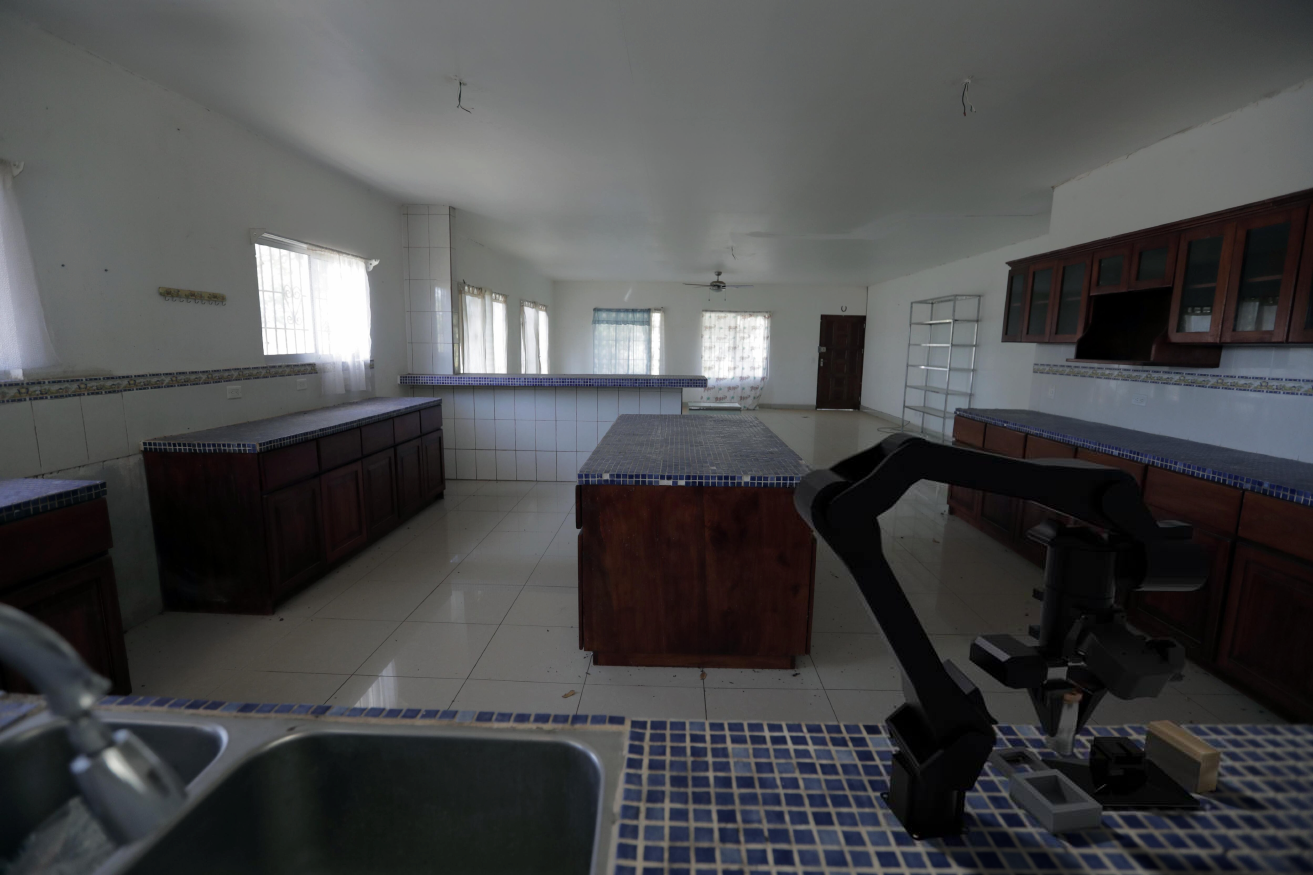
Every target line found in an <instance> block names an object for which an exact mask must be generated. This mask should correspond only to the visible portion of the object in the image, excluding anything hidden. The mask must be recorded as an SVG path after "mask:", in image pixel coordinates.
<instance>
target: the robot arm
mask: <svg viewBox="0 0 1313 875" xmlns="http://www.w3.org/2000/svg"><path fill="white" fill-rule="evenodd" d="M921 480H926V481H930V482H935V483H940V484H945V485H949V486H955V487H960V488H965V489H969V490H970V489H971V490H975V491H980V492H985V493H990V494H995V495H999V496H1000V495H1001V496H1004V497H1010V498H1015V499H1019V500H1020V499H1021V500H1025V501H1028V502H1031V503H1034V504H1036V505H1039V506H1041V507H1044V508H1045V509H1049V510H1051V511H1053V512H1056V513H1058V514H1059V513H1060V514H1062V515H1063V516H1068V517H1070V518H1072V519H1075V520H1078V521H1080V522H1083V523H1086V524H1089V525H1092V526H1094V527H1097V528H1099V529H1103V530H1107V533H1100V532H1099V531H1098V530H1096V529H1095V528H1093V527H1091V526H1087V525H1066V523H1065V522H1063V521H1060V520H1058V519H1055V518H1053V517H1051V516H1048V517H1046V518H1045V519H1044V520H1043V521H1042V522H1041V523H1039V524H1037V525H1035V526H1033V527H1032V528H1030V529H1028V530H1027V532H1026V537H1028V538H1029V539H1031V540H1035V541H1036V542H1038V543H1040V544H1042V545H1044V546H1047V551H1046V561H1045V569H1044V580H1043V587H1042V586H1041V587H1033V589H1032V597H1031V598H1033V599H1036V600H1037V601H1040V602H1041V605H1040V606H1041V608H1040V615H1039V623H1038V624H1034V625H1033V624H1032V625H1031V624H1030V625H1029V626H1028V633H1027V635H1028V636H1030V637H1032V638H1033V639H1035V640H1037V642H1038V643H1037V644H1038V645H1032V646H1031V645H1026V644H1025V643H1024V642H1022V641H1020V640H1019V639H1016V638H1015V637H1013V636H1012V635H1010V634H1009V633H1002V634H999V633H998V634H987V635H986V634H984V635H977V636H976V637H974V638H972V639H971V641H970V646H969V656H968V661H970V662H971V663H973V664H974V665H976V666H977V667H978V668H980V669H981V670H982V671H984V672H985V673H987V674H988V675H989V676H991V677H992V678H994V680H996V681H998V682H999V683H1000V684H1001V685H1003V686H1004V687H1007V688H1010V689H1013V690H1019V689H1020V690H1022V689H1026V691H1027V692H1028V693H1027V694H1028V696H1029V697H1030V701H1031V703H1032V706H1033V708H1034V710H1035V714H1036V715H1037V718H1038V721H1039V723H1040V725H1041V729H1042V731H1043V732H1044V733H1045V735H1046V734H1047V735H1049V736H1050V737H1055V736H1056V733H1057V729H1058V726H1059V721H1060V716H1061V710H1062V704H1063V699H1064V695H1065V694H1067V693H1069V692H1071V691H1074V690H1076V689H1077V687H1076V686H1074V685H1073V684H1071V683H1070V682H1073V683H1075V684H1077V685H1079V686H1080V687H1081V688H1082V689H1083V698H1082V701H1081V702H1079V710H1078V718H1077V726H1076V735H1075V736H1077V735H1080V733H1081V732H1082V730H1083V729H1084V727H1085V725H1086V724H1087V722H1088V721H1089V719H1090V717H1091V716H1092V715H1093V713H1094V711H1095V710H1096V708H1097V706H1098V705H1099V703H1101V701H1102V700H1103V698H1104V697H1105V696H1106V695H1107V693H1110V694H1111V695H1112V696H1114V697H1116V698H1118V699H1120V700H1122V701H1133V700H1135V699H1141V698H1142V699H1144V698H1150V699H1156V698H1159V696H1160V695H1161V694H1162V692H1163V690H1164V689H1165V688H1166V686H1167V685H1168V684H1170V683H1171V684H1172V683H1181V682H1183V680H1184V676H1183V674H1182V672H1183V670H1184V669H1185V666H1186V648H1185V646H1184V645H1183V644H1181V643H1180V642H1178V641H1177V640H1176V639H1175V638H1174V637H1171V636H1165V637H1154V638H1152V637H1149V636H1148V635H1145V634H1143V633H1141V632H1139V631H1138V630H1135V629H1132V628H1130V627H1129V626H1127V614H1126V613H1125V607H1122V606H1121V605H1118V604H1116V603H1114V601H1115V592H1116V584H1118V585H1119V586H1120V587H1121V588H1124V590H1125V589H1126V590H1130V591H1159V592H1160V591H1163V592H1164V591H1167V592H1168V591H1169V592H1171V591H1173V592H1174V591H1175V592H1186V591H1187V592H1190V591H1195V590H1197V589H1200V588H1201V587H1203V585H1205V583H1206V582H1207V580H1208V578H1209V575H1210V572H1211V570H1210V569H1211V568H1210V567H1211V565H1210V564H1209V563H1208V559H1207V555H1206V553H1205V550H1204V548H1203V546H1201V544H1200V543H1199V542H1198V541H1197V540H1196V539H1195V538H1194V537H1193V536H1194V531H1195V527H1194V526H1193V525H1192V524H1188V523H1186V522H1185V523H1184V522H1182V521H1179V520H1174V519H1172V520H1170V519H1169V520H1165V519H1164V520H1160V521H1156V519H1155V517H1154V516H1153V514H1152V512H1151V511H1150V508H1149V507H1148V506H1147V504H1146V503H1145V501H1144V500H1143V498H1142V496H1141V490H1140V485H1139V483H1138V481H1137V477H1136V476H1135V474H1133V473H1131V472H1129V471H1128V470H1127V471H1126V470H1124V469H1122V468H1118V467H1112V466H1108V465H1104V464H1099V463H1095V462H1090V461H1086V460H1084V459H1082V460H1081V459H1078V458H1067V457H1064V458H1063V457H1060V458H1059V457H1055V458H1054V457H1042V458H1034V459H1033V458H1032V459H1031V458H1016V457H1012V456H1008V455H1007V456H1006V455H1002V454H996V453H993V452H988V451H982V450H977V449H973V448H967V447H962V446H957V445H954V444H953V445H951V444H947V443H943V442H938V441H934V440H928V439H926V438H923V437H920V436H918V435H917V436H916V435H914V434H910V433H906V432H895V433H891V434H890V435H888V436H886V437H885V438H883V439H882V440H880V441H878V442H877V443H875V444H873V445H872V446H870V447H868V448H865V449H863V450H860V451H858V452H856V453H854V454H852V455H849V456H847V457H845V458H843V459H840V460H838V461H837V462H836V463H834V464H832V465H831V466H829V467H828V468H822V469H821V468H820V469H819V468H818V469H815V470H812V471H810V472H808V473H806V474H805V475H804V476H802V478H800V480H799V482H798V483H797V484H796V487H795V490H794V494H793V495H792V496H793V499H792V500H793V504H794V507H795V509H796V511H797V512H798V514H799V516H801V518H802V519H803V520H804V522H805V523H806V524H807V525H808V526H809V527H810V529H811V530H812V531H813V532H814V533H815V535H816V536H817V537H818V538H819V540H820V541H821V542H822V543H823V544H824V545H825V546H826V547H827V549H828V551H830V552H831V553H832V555H833V556H834V557H835V558H836V560H838V562H839V563H840V565H841V567H842V569H843V570H844V573H845V574H846V576H847V578H848V579H849V581H850V583H851V585H852V587H853V589H854V590H855V592H856V594H857V596H858V597H859V599H860V601H861V603H862V605H863V606H864V608H865V611H866V612H867V614H868V616H869V618H870V619H871V621H872V623H873V625H874V627H875V628H876V631H877V633H879V636H880V638H881V640H882V641H883V643H884V645H885V647H886V648H887V650H888V652H889V654H890V656H891V658H892V659H893V661H894V663H895V664H896V667H897V669H898V671H899V673H900V677H901V678H900V679H901V689H902V690H901V691H902V694H903V697H904V699H905V702H904V703H903V704H901V705H900V706H899V707H898V708H897V709H896V710H894V711H893V712H892V713H891V714H889V715H888V716H887V717H886V718H885V719H884V723H885V726H886V730H887V733H888V736H889V738H890V739H891V740H893V742H894V744H895V745H896V747H897V748H898V751H897V752H896V753H895V752H894V753H891V763H890V775H889V776H890V777H889V788H888V791H882V792H880V793H879V796H880V798H881V799H882V801H883V803H885V805H886V806H887V807H888V809H889V810H890V812H891V813H892V814H893V816H894V817H895V818H896V820H898V822H899V824H901V826H902V828H903V829H904V831H906V833H907V834H908V836H910V838H911V839H912V840H914V841H923V840H932V839H938V838H939V839H941V838H946V837H954V836H962V835H963V836H964V835H969V834H971V833H972V830H971V828H970V827H969V826H968V824H966V822H965V821H964V820H963V819H962V818H961V817H964V815H965V806H966V797H967V796H966V795H967V791H968V792H969V791H972V790H973V789H974V787H975V785H976V784H977V782H978V779H979V777H980V774H981V772H982V771H983V768H984V767H985V765H986V763H987V761H988V760H987V759H988V757H989V755H990V753H991V752H992V749H993V748H994V747H995V746H996V745H997V743H998V742H997V741H998V740H997V739H998V737H997V734H996V730H995V728H994V727H993V726H995V725H996V726H997V725H999V723H1000V722H999V721H998V720H997V719H996V718H995V717H994V716H993V715H992V714H991V712H989V710H988V708H987V705H986V701H985V699H984V696H983V694H982V692H981V689H980V688H979V687H978V686H977V685H976V684H975V683H974V682H973V681H972V680H971V679H970V678H969V677H968V676H967V675H966V673H964V672H963V671H962V670H961V669H960V668H958V667H957V665H955V663H953V661H951V659H949V658H947V659H946V660H944V661H943V662H942V661H941V659H940V657H939V655H938V653H937V651H936V650H935V647H934V646H933V644H932V642H931V640H930V638H929V636H928V635H927V632H926V631H925V629H924V627H923V625H922V624H921V621H920V620H919V618H918V616H917V614H916V613H915V610H914V609H913V606H912V604H911V603H910V601H909V599H908V598H907V595H906V594H905V592H904V590H903V588H902V586H901V584H900V582H899V580H898V579H897V577H896V576H895V573H894V571H893V570H892V568H891V566H890V564H889V562H888V561H887V558H886V557H885V553H884V548H883V538H882V528H881V525H880V523H879V518H878V517H880V516H881V515H882V514H884V513H885V512H887V511H889V510H890V509H892V508H893V507H894V506H895V505H896V504H897V502H899V501H900V499H901V498H902V497H903V496H904V495H905V493H907V491H908V490H909V489H910V488H911V487H912V486H913V485H915V484H917V483H918V482H920V481H921ZM1066 680H1067V681H1066ZM1068 681H1070V682H1068ZM884 795H885V796H884ZM965 829H967V830H965ZM914 835H915V836H917V837H915V836H914Z"/></svg>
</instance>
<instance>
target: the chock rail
mask: <svg viewBox="0 0 1313 875" xmlns="http://www.w3.org/2000/svg"><path fill="white" fill-rule="evenodd" d="M1143 747H1144V748H1143V751H1144V752H1145V753H1146V759H1150V760H1151V761H1153V762H1154V763H1155V764H1156V765H1157V766H1158V767H1160V768H1161V769H1162V770H1163V771H1164V772H1165V773H1167V774H1168V775H1169V776H1170V777H1171V778H1172V779H1174V780H1175V781H1176V782H1177V783H1178V784H1179V785H1181V786H1182V787H1183V788H1184V789H1186V790H1188V791H1190V792H1192V793H1193V794H1197V793H1198V794H1199V793H1204V792H1205V791H1206V792H1211V790H1212V791H1216V787H1217V781H1218V774H1219V767H1220V760H1221V756H1222V751H1220V750H1219V749H1217V748H1215V747H1213V746H1211V745H1210V744H1208V743H1206V742H1205V741H1204V740H1202V739H1200V738H1198V737H1197V736H1196V735H1195V736H1194V735H1193V734H1192V733H1190V732H1188V731H1186V729H1183V728H1182V727H1179V726H1177V724H1175V723H1173V722H1171V721H1169V720H1168V719H1165V720H1154V721H1149V724H1148V729H1146V733H1145V738H1144V746H1143Z"/></svg>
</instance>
